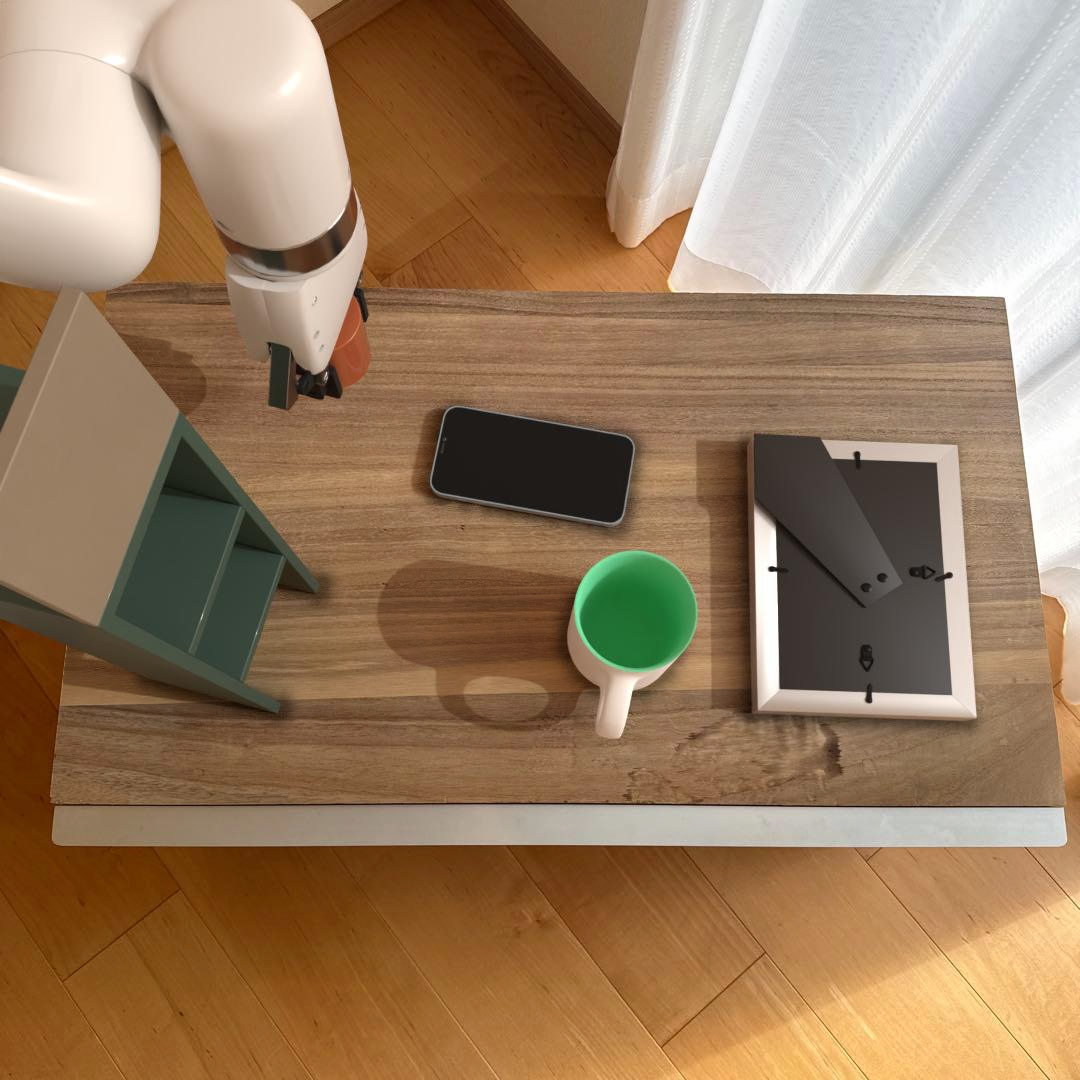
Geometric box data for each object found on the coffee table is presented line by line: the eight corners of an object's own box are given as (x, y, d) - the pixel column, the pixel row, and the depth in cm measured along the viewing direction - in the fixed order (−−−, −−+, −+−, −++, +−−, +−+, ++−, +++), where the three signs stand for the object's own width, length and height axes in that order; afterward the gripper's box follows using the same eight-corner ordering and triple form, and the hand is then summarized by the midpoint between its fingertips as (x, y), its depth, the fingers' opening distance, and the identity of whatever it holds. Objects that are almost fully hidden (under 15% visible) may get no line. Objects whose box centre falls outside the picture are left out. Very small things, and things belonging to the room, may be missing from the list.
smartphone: (622, 527, 82) (427, 492, 82) (621, 530, 83) (427, 496, 83) (637, 436, 84) (446, 402, 84) (635, 440, 85) (446, 407, 85)
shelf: (147, 678, 79) (-324, 486, 35) (193, 550, 82) (-191, 219, 38) (277, 713, 79) (-31, 565, 35) (320, 584, 82) (83, 289, 37)
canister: (288, 379, 74) (271, 340, 69) (311, 315, 76) (295, 272, 70) (358, 397, 74) (347, 361, 68) (380, 333, 76) (370, 292, 70)
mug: (662, 753, 79) (684, 742, 69) (552, 737, 79) (557, 723, 69) (680, 592, 82) (703, 559, 72) (575, 577, 82) (582, 542, 72)
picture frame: (746, 446, 85) (751, 713, 80) (754, 433, 82) (759, 709, 77) (947, 453, 85) (965, 721, 80) (961, 441, 82) (981, 717, 77)
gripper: (267, 52, 59) (319, 231, 77) (157, 329, 55) (239, 451, 72) (400, 87, 59) (421, 258, 76) (301, 367, 54) (348, 480, 72)
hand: (332, 350), depth 74 cm, fingers closed on canister, 5 cm apart
